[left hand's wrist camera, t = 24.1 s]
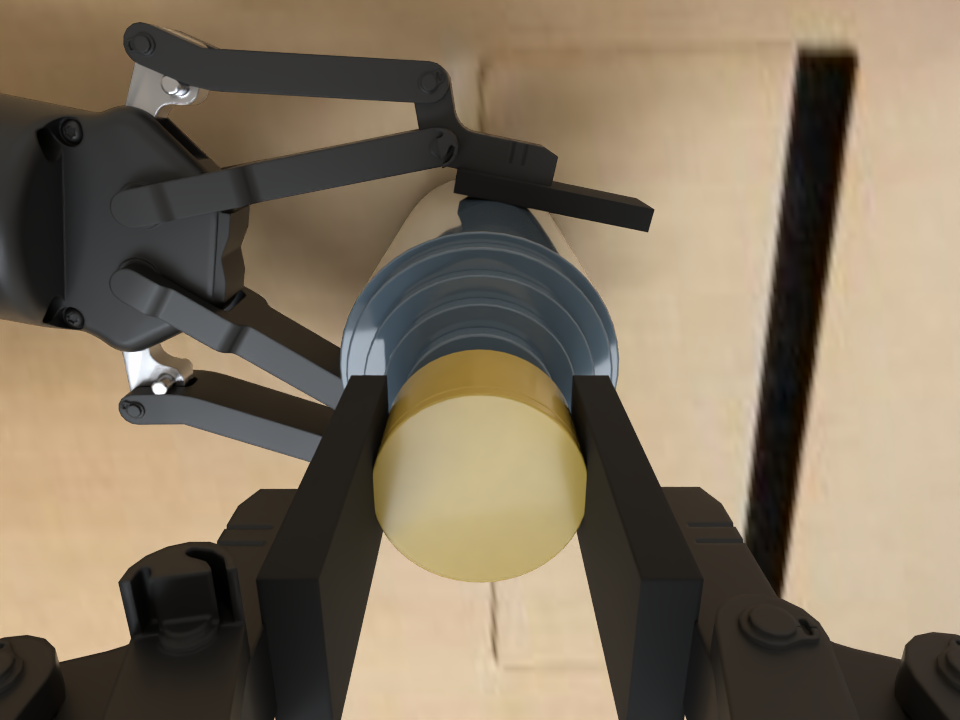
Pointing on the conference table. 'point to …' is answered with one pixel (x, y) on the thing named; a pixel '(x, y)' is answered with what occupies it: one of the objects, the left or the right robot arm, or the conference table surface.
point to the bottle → (478, 296)
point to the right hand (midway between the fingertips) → (610, 324)
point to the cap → (479, 468)
